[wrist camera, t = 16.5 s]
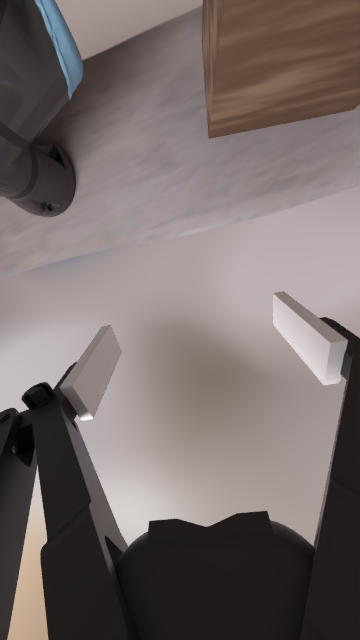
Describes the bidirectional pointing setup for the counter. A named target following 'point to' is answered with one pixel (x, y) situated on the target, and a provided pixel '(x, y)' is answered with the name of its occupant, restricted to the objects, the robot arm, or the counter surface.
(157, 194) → the counter surface
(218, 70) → the walnut shelf
